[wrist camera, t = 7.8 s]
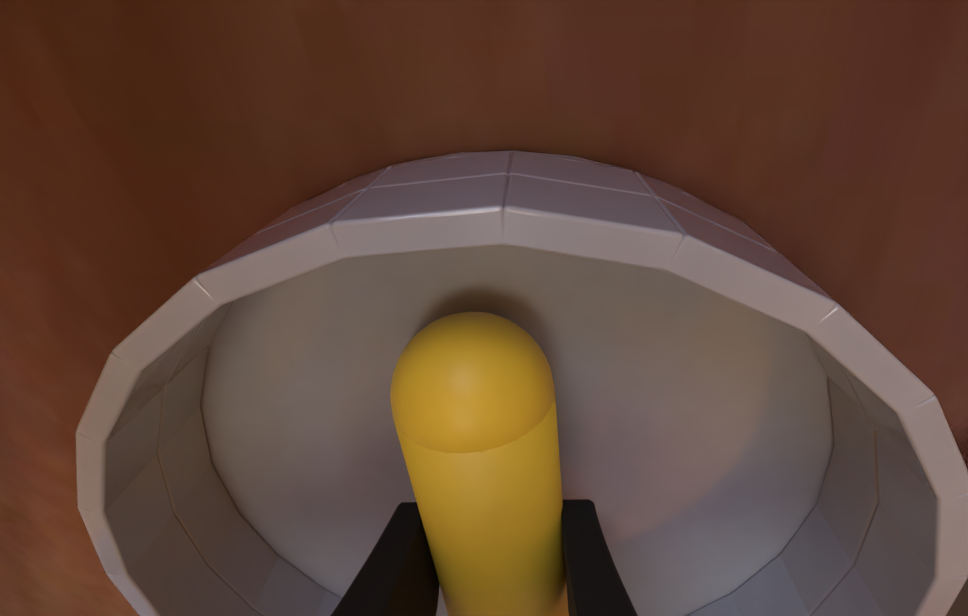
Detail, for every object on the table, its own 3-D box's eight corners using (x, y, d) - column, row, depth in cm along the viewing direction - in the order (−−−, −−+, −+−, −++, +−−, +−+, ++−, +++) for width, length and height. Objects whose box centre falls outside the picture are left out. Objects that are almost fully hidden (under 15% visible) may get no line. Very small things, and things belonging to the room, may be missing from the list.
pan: (780, 643, 15) (844, 795, 12) (304, 633, 17) (256, 761, 14) (950, 96, 8) (1230, 133, 5) (64, 197, 10) (-147, 268, 7)
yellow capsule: (569, 606, 15) (579, 731, 12) (471, 606, 15) (460, 726, 12) (546, 277, 9) (553, 371, 7) (395, 289, 10) (348, 383, 7)
